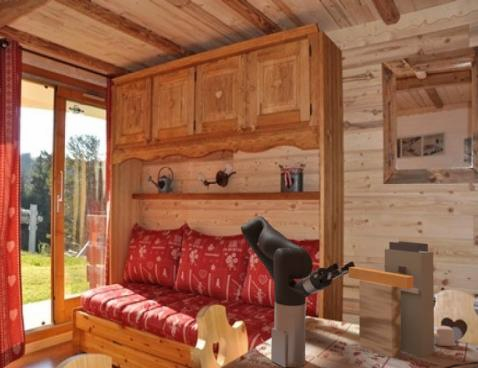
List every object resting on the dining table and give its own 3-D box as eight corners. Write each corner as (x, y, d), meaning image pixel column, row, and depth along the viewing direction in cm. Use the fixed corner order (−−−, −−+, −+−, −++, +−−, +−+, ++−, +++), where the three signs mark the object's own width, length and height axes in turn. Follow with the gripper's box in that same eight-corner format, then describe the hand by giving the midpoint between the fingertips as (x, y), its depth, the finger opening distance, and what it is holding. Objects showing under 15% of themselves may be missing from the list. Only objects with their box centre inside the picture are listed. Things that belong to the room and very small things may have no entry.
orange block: (407, 289, 117) (406, 277, 118) (348, 277, 135) (348, 267, 136) (413, 287, 119) (413, 276, 120) (355, 276, 137) (355, 266, 138)
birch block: (391, 357, 120) (391, 286, 121) (359, 345, 130) (359, 280, 131) (401, 353, 123) (400, 284, 124) (368, 342, 132) (368, 278, 134)
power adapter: (420, 345, 130) (420, 328, 131) (415, 340, 135) (415, 323, 136) (455, 347, 129) (455, 329, 129) (449, 342, 134) (449, 325, 134)
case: (421, 358, 119) (420, 245, 121) (384, 345, 130) (384, 241, 132) (434, 353, 124) (433, 244, 126) (397, 341, 134) (396, 240, 136)
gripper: (300, 273, 148) (328, 256, 137) (326, 270, 156) (354, 253, 145) (306, 292, 144) (336, 276, 133) (333, 288, 152) (362, 273, 141)
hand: (345, 264), depth 139 cm, fingers open, 8 cm apart
